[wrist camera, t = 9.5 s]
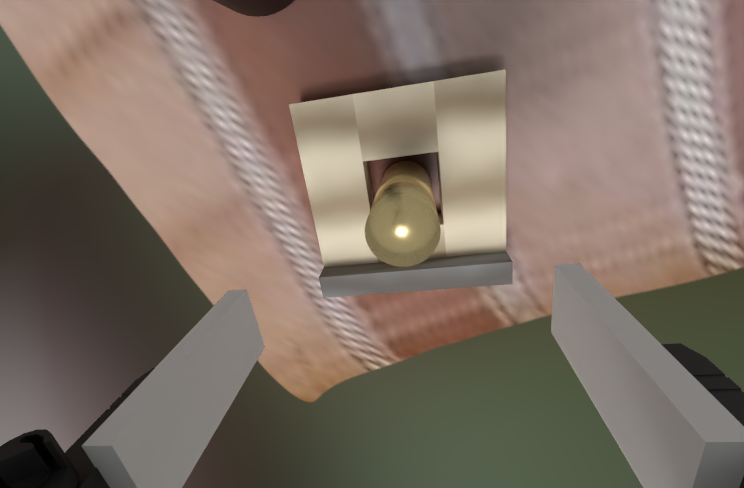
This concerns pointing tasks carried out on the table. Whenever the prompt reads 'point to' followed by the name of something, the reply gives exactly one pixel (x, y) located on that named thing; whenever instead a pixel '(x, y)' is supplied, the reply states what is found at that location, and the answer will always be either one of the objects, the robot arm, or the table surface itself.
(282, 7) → the mug
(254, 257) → the table surface
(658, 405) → the robot arm
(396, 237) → the pale yellow cylinder
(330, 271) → the jig
